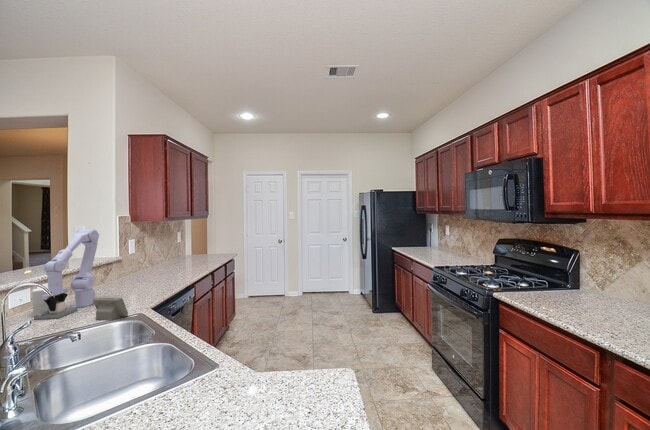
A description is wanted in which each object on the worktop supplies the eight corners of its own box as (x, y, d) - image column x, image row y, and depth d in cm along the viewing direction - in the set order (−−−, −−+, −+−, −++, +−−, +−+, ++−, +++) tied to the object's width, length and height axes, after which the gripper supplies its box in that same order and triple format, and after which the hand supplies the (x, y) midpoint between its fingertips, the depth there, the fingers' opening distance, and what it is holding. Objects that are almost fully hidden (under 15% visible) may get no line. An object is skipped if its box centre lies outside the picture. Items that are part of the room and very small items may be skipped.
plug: (55, 312, 157) (55, 300, 157) (64, 311, 157) (64, 299, 157) (49, 314, 153) (49, 302, 153) (58, 314, 153) (58, 302, 153)
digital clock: (130, 316, 151) (129, 295, 151) (112, 322, 142) (111, 300, 142) (108, 313, 156) (107, 293, 156) (89, 319, 148) (88, 298, 147)
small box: (49, 313, 158) (48, 289, 158) (32, 316, 154) (31, 291, 154) (50, 309, 165) (49, 286, 164) (34, 312, 161) (33, 288, 160)
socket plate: (54, 311, 161) (54, 307, 161) (77, 310, 162) (77, 306, 162) (34, 319, 149) (33, 314, 149) (59, 318, 150) (58, 313, 150)
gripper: (51, 286, 148) (52, 313, 148) (74, 280, 163) (75, 304, 163) (36, 287, 148) (37, 314, 148) (60, 280, 162) (61, 305, 162)
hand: (56, 309), depth 155 cm, fingers closed on plug, 4 cm apart
